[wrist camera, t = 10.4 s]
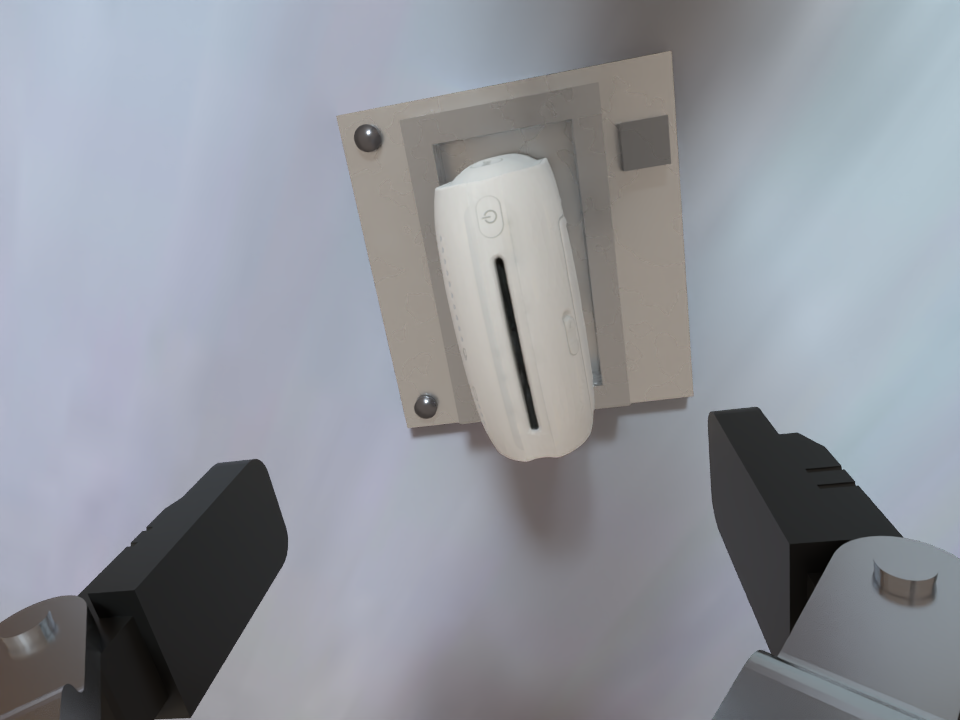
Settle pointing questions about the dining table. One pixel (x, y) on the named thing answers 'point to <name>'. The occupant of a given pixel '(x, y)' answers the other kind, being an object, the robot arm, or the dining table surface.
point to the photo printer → (516, 305)
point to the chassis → (586, 206)
